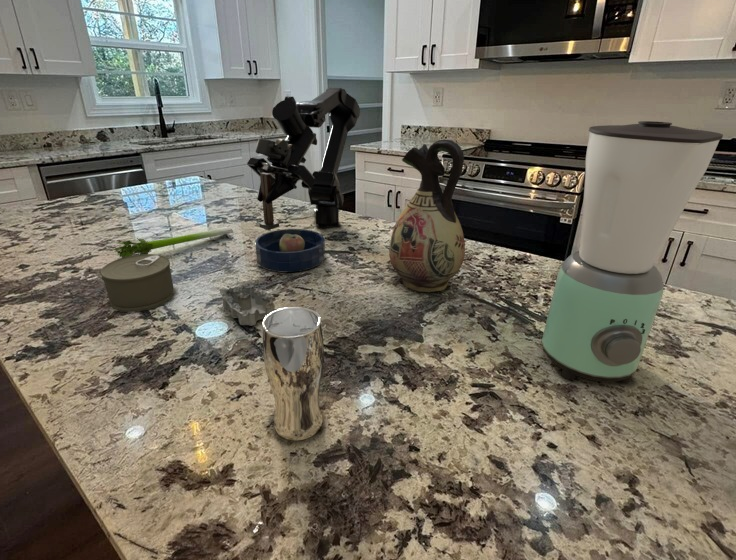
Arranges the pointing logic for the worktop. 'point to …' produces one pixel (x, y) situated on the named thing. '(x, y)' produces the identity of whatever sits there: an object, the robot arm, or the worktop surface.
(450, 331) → the worktop surface
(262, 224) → the dark brown piece
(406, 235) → the ceramic jug
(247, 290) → the egg carton
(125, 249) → the celery stalk
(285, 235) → the apple
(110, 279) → the can
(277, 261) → the bowl
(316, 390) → the beer glass
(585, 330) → the blender
